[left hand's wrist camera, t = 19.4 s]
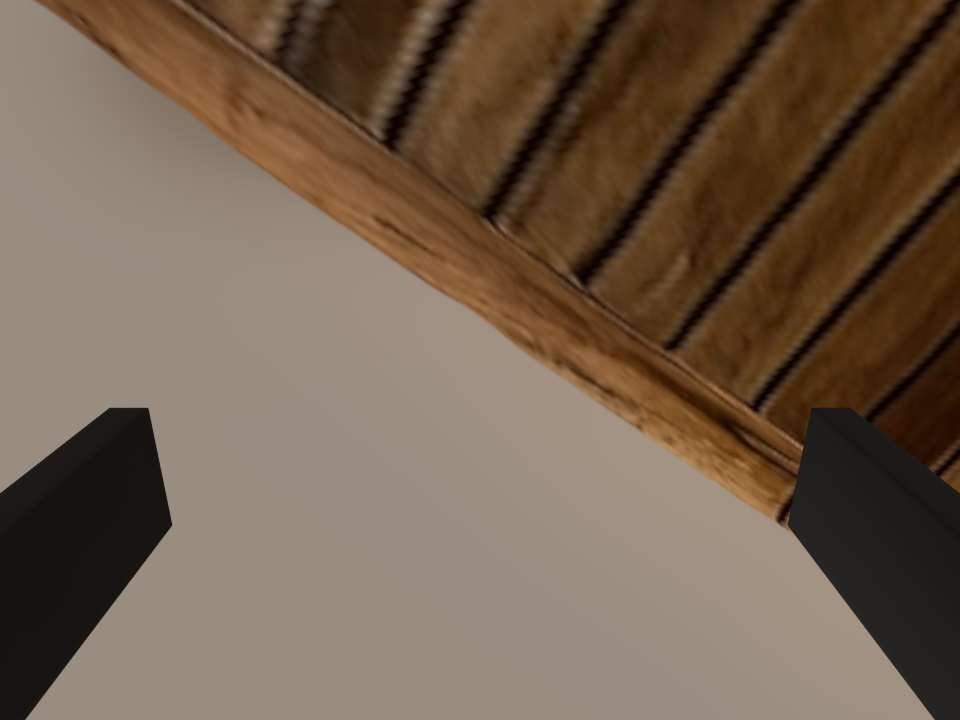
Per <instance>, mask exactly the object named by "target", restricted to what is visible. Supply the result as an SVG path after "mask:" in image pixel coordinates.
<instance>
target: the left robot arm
mask: <svg viewBox="0 0 960 720" xmlns="http://www.w3.org/2000/svg"><path fill="white" fill-rule="evenodd" d="M171 526H172V521H171V516H170V511H169V506H168V502H167V497H166V492H165V487H164V482H163V477H162V472H161V468H160V462H159V458H158V453H157V448H156V443H155V438H154V433H153V428H152V423H151V419H150V414H149V409H148V408H109V409H108V410H106V411H105V412H104V413H103V414H101V415H100V416H99V417H97V418H96V419H95V420H93V421H92V422H91V423H90V424H88V425H87V426H86V427H85V428H83V429H82V430H81V431H79V432H78V433H77V434H76V435H74V436H73V437H72V438H70V439H69V440H68V441H67V442H65V443H64V444H63V445H61V446H60V447H59V448H58V449H56V450H55V451H54V452H52V453H51V454H50V455H49V456H47V457H46V458H45V459H44V460H42V461H41V462H40V463H38V464H37V465H36V466H35V467H33V468H32V469H31V470H29V471H28V472H27V473H26V474H24V475H23V476H22V477H20V478H19V479H18V480H17V481H15V482H14V483H13V484H12V485H10V486H9V487H8V488H6V489H5V490H4V491H3V492H1V493H0V720H25V719H26V718H27V717H28V715H29V714H30V713H31V711H32V710H33V709H34V707H35V706H36V705H37V703H38V702H39V701H40V700H41V698H42V697H43V695H44V694H45V693H46V692H47V690H48V689H49V688H50V686H51V685H52V684H53V682H54V681H55V680H56V678H57V677H58V676H59V674H60V673H61V672H62V670H63V669H64V668H65V666H66V665H67V664H68V662H69V661H70V660H71V659H72V657H73V656H74V655H75V653H76V652H77V651H78V649H79V648H80V647H81V645H82V644H83V643H84V641H85V640H86V639H87V637H88V636H89V635H90V633H91V632H92V631H93V629H94V628H95V627H96V625H97V624H98V623H99V622H100V620H101V619H102V618H103V616H104V615H105V614H106V612H107V611H108V610H109V608H110V607H111V606H112V604H113V603H114V602H115V600H116V599H117V598H118V596H119V595H120V594H121V592H122V591H123V590H124V588H125V587H126V586H127V585H128V583H129V582H130V580H131V579H132V578H133V577H134V575H135V574H136V573H137V571H138V570H139V569H140V567H141V566H142V565H143V563H144V562H145V561H146V559H147V558H148V557H149V555H150V554H151V553H152V551H153V550H154V549H155V547H156V546H157V545H158V544H159V542H160V541H161V539H162V538H163V537H164V536H165V534H166V533H167V532H168V530H169V529H170V528H171ZM788 526H789V528H790V529H791V530H792V532H793V533H794V534H795V536H796V537H797V538H798V540H799V541H800V542H801V544H802V545H803V546H804V547H805V549H806V550H807V551H808V553H809V554H810V555H811V557H812V558H813V559H814V561H815V562H816V563H817V565H818V566H819V567H820V569H821V570H822V571H823V573H824V574H825V575H826V577H827V578H828V579H829V581H830V582H831V583H832V584H833V586H834V587H835V588H836V590H837V591H838V592H839V594H840V595H841V596H842V598H843V599H844V600H845V602H846V603H847V604H848V606H849V607H850V608H851V610H852V611H853V612H854V614H855V615H856V616H857V618H858V619H859V620H860V622H861V623H862V624H863V625H864V627H865V628H866V629H867V631H868V632H869V633H870V635H871V636H872V637H873V639H874V640H875V641H876V643H877V644H878V645H879V647H880V648H881V649H882V651H883V652H884V653H885V655H886V656H887V657H888V659H889V660H890V661H891V662H892V664H893V665H894V666H895V668H896V669H897V670H898V672H899V673H900V674H901V676H902V677H903V678H904V680H905V681H906V682H907V684H908V685H909V686H910V688H911V689H912V690H913V692H914V693H915V694H916V696H917V697H918V698H919V699H920V701H921V702H922V703H923V705H924V706H925V707H926V709H927V710H928V711H929V713H930V714H931V715H932V717H933V718H934V719H935V720H960V493H959V492H957V491H956V490H955V489H954V488H952V487H951V486H950V485H948V484H947V483H946V482H945V481H943V480H942V479H941V478H940V477H938V476H937V475H936V474H934V473H933V472H932V471H931V470H929V469H928V468H927V467H925V466H924V465H923V464H922V463H920V462H919V461H918V460H916V459H915V458H914V457H913V456H911V455H910V454H909V453H908V452H906V451H905V450H904V449H902V448H901V447H900V446H899V445H897V444H896V443H895V442H893V441H892V440H891V439H890V438H888V437H887V436H886V435H884V434H883V433H882V432H881V431H879V430H878V429H877V428H876V427H874V426H873V425H872V424H870V423H869V422H868V421H867V420H865V419H864V418H863V417H861V416H860V415H859V414H858V413H856V412H855V411H854V410H852V409H851V408H812V409H811V414H810V419H809V423H808V428H807V433H806V438H805V443H804V448H803V453H802V458H801V462H800V467H799V472H798V477H797V482H796V487H795V492H794V497H793V501H792V506H791V511H790V516H789V521H788Z"/></svg>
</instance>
